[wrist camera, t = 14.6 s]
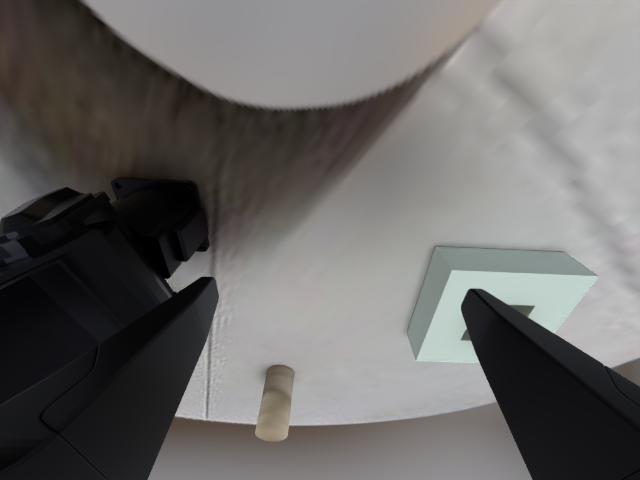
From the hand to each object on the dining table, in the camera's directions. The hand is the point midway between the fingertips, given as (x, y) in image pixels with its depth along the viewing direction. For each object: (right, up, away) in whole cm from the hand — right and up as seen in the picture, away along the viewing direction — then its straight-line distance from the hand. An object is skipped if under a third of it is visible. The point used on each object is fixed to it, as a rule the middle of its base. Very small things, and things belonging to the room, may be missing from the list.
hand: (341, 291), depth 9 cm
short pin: (-6, -16, +25) cm, 30 cm away
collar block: (+16, -4, +18) cm, 24 cm away
